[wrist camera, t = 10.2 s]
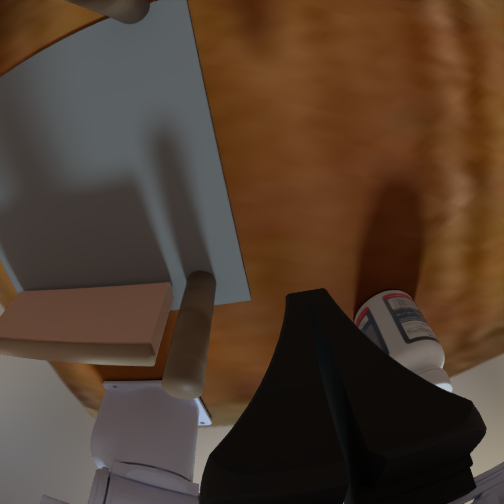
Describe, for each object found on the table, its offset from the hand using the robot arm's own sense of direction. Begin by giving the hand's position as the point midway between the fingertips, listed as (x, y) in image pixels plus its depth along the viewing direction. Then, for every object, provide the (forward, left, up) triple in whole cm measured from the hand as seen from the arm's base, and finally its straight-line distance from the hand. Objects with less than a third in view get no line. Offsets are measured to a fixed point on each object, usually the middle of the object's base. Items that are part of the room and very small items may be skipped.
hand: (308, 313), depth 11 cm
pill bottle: (+7, -10, -10) cm, 16 cm away
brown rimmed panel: (-15, -3, -9) cm, 18 cm away
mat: (-13, +4, -9) cm, 17 cm away
